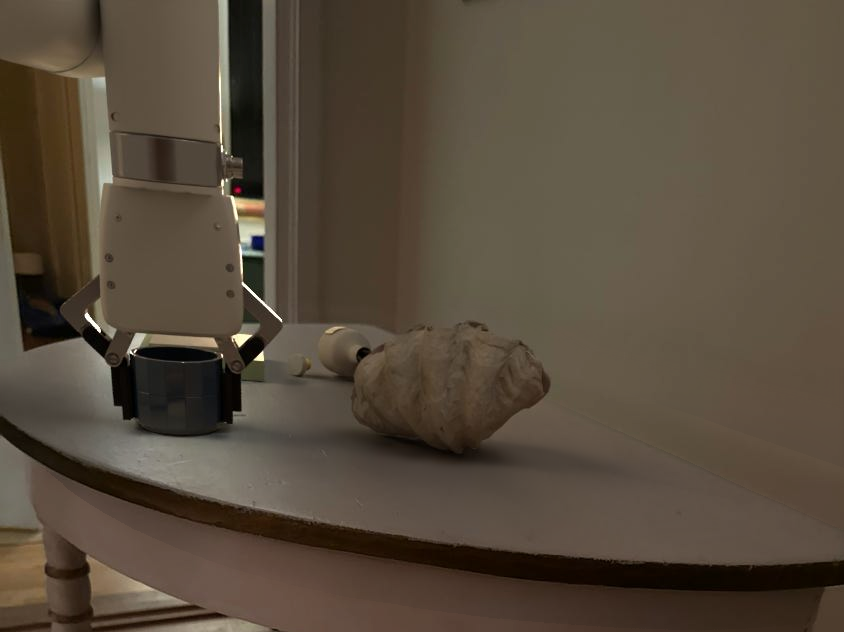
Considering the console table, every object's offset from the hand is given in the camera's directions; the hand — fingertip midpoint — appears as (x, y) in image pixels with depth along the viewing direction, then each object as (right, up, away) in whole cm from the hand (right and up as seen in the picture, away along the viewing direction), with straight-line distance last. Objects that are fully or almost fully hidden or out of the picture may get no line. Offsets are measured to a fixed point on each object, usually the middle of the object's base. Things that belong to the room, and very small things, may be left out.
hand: (179, 416), depth 72 cm
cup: (0, -1, 0) cm, 1 cm away
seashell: (+21, -2, +3) cm, 21 cm away
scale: (-5, +11, +22) cm, 25 cm away
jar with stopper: (+13, +7, +18) cm, 23 cm away
